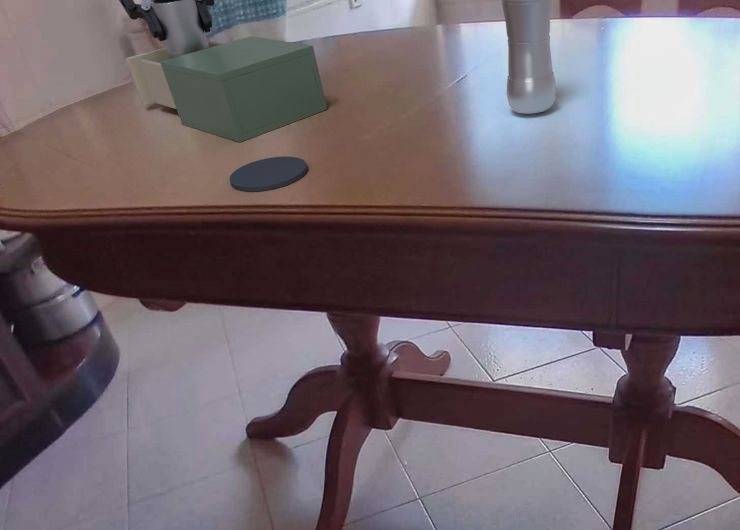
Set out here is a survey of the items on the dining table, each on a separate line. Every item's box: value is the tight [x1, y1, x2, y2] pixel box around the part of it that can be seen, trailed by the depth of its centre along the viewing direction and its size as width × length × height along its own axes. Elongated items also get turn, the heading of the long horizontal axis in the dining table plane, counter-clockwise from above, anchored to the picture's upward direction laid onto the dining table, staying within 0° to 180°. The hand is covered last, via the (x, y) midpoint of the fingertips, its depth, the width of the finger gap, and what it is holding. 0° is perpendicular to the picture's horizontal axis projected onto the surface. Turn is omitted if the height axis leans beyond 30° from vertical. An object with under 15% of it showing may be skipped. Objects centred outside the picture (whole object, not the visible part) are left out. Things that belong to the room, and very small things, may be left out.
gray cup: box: [151, 0, 209, 59], centre depth 104 cm, size 6×6×10 cm
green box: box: [160, 35, 328, 143], centre depth 99 cm, size 16×15×9 cm
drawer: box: [124, 36, 225, 110], centre depth 109 cm, size 19×14×7 cm
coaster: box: [228, 156, 309, 193], centre depth 82 cm, size 9×9×1 cm
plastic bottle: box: [500, 0, 557, 115], centre depth 86 cm, size 6×7×20 cm
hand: (184, 32), depth 102 cm, fingers closed on gray cup, 6 cm apart
